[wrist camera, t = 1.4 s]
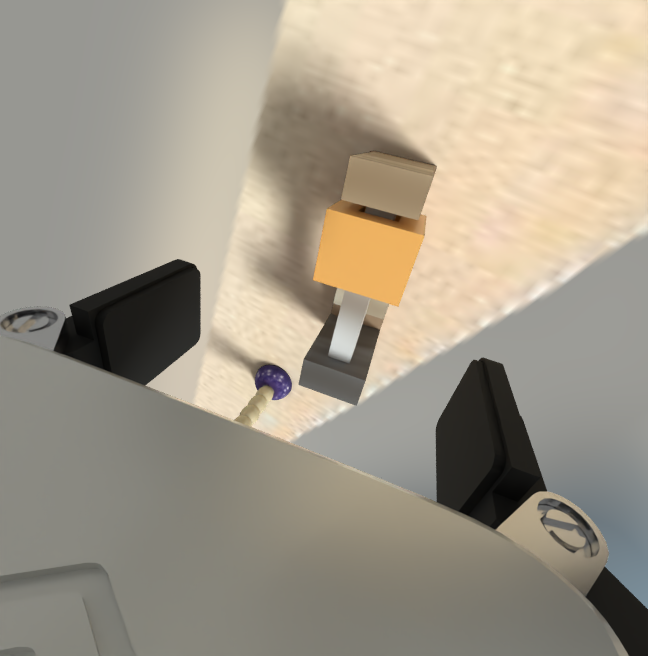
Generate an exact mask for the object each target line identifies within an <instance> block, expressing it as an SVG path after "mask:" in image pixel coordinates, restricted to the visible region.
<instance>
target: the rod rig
mask: <svg viewBox="0 0 648 656" xmlns="http://www.w3.org/2000/svg"><path fill="white" fill-rule="evenodd" d="M436 168H437V166H434V165H430V164H426V163H422V162H418V161H414V160H410V159H406V158H402V157H398V156H393V155H389V154H385V153H381V152H377V151H370V153H364V154H358V155H351V156H350V159H349V163H348V168H347V173H346V177H345V182H344V187H343V192H342V196H341V200H344V201H348V202H352V203H356V204H359V205H363V206H366V210H365V213H368V214H371V215H375V216H379V217H382V218H386V219H390V220H393V221H395V218H396V215H400V216H404V217H407V218H411V219H415V220H419V217H420V214H421V211H422V209H423V206H424V203H425V200H426V197H427V194H428V191H429V189H430V186H431V183H432V180H433V177H434V174H435V171H436ZM388 306H389V304H388V303H385V302H381V301H378V300H375V299H372V298H369V297H365V296H362V295H359V294H356V293H352V292H349V291H346V290H343V289H340V288H337V290H336V294H335V298H334V302H333V307H332V311H331V314H330V316H329V318H328V320H327V321H326V323H325V325H324V326H323V328H322V330H321V331H320V333H319V335H318V336H317V338H316V340H315V341H314V343H313V345H312V346H311V348H310V350H309V351H308V353H307V355H306V356H305V358H304V361H303V366H302V370H301V375H300V380H299V385H301V386H304V387H306V388H309V389H312V390H315V391H317V392H320V393H323V394H326V395H328V396H331V397H334V398H337V399H339V400H342V401H345V402H348V403H350V404H353V405H357V403H358V400H359V397H360V395H361V392H362V389H363V386H364V383H365V381H366V377H367V374H368V370H369V367H370V363H371V360H372V356H373V353H374V349H375V345H376V342H377V338H378V335H379V331H380V328H381V325H382V323H383V320H384V317H385V314H386V311H387V308H388Z"/></svg>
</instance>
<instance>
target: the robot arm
mask: <svg viewBox="0 0 648 656" xmlns="http://www.w3.org/2000/svg"><path fill="white" fill-rule="evenodd" d="M70 309H71V313H72V316H71V317H68V318H66V317H65V314H64V313H63V312H62V311H60V310H58V309H56V308H51V307H41V306H37V307H26V308H21V309H16V310H13V311H10V312H7V313H5V314H3V315H1V316H0V656H648V609H647V608H646V607H645V606H644V605H643V604H642V603H641V602H640V601H639V600H638V599H637V598H636V597H635V596H634V595H633V594H632V593H631V592H630V591H629V590H628V589H627V588H625V586H624V585H623V584H622V583H620V582H619V580H618V579H617V578H616V577H615V576H614V575H613V574H612V573H611V572H610V571H608V569H607V568H606V567H605V565H606V563H607V560H608V555H609V552H608V548H607V543H606V541H605V539H604V538H603V535H602V533H601V532H600V530H599V529H598V528H597V526H596V525H595V524H594V523H593V521H592V520H591V519H590V518H589V517H588V516H587V515H586V514H585V513H584V512H583V511H582V510H581V509H580V508H578V507H577V506H576V505H574V504H573V503H572V502H570V501H569V500H567V499H565V498H563V497H561V496H559V495H557V494H554V493H550V492H547V489H546V487H545V484H544V481H543V478H542V475H541V472H540V469H539V466H538V463H537V460H536V457H535V454H534V451H533V448H532V446H531V442H530V440H529V436H528V433H527V430H526V428H525V424H524V421H523V419H522V417H521V416H520V414H519V411H518V408H517V405H516V402H515V399H514V396H513V393H512V390H511V387H510V384H509V381H508V378H507V375H506V372H505V370H504V366H503V364H501V363H497V362H495V361H492V360H488V359H486V358H481V359H480V360H479V361H477V360H473V361H472V362H471V363H470V365H469V367H468V369H467V371H466V372H465V374H464V376H463V378H462V379H461V381H460V383H459V385H458V386H457V388H456V390H455V392H454V394H453V395H452V397H451V399H450V401H449V403H448V404H447V406H446V408H445V410H444V411H443V413H442V415H441V417H440V418H439V420H438V423H437V427H436V473H437V476H436V478H437V502H435V501H433V500H431V499H428V498H426V497H424V496H422V495H419V494H417V493H414V492H412V491H409V490H407V489H404V488H402V487H399V486H397V485H394V484H392V483H389V482H387V481H385V480H382V479H380V478H378V477H375V476H373V475H370V474H368V473H365V472H363V471H360V470H358V469H355V468H353V467H350V466H348V465H345V464H343V463H340V462H338V461H335V460H332V459H330V458H328V457H325V456H323V455H320V454H318V453H315V452H313V451H310V450H307V449H305V448H303V447H300V446H298V445H295V444H293V443H290V442H288V441H285V440H283V439H280V438H278V437H275V436H273V435H270V434H267V433H265V432H262V431H260V430H257V429H255V428H252V427H250V426H247V425H245V424H242V423H240V422H237V421H235V420H232V419H229V418H227V417H224V416H222V415H219V414H217V413H214V412H212V411H209V410H206V409H204V408H201V407H199V406H196V405H194V404H191V403H189V402H186V401H183V400H181V399H178V398H176V397H173V396H171V395H168V394H165V393H163V392H160V391H158V390H155V389H152V388H150V387H147V386H145V385H146V384H147V383H149V382H150V381H151V380H153V379H154V378H155V377H156V376H157V375H159V374H160V373H161V372H162V371H164V370H165V369H166V368H167V367H168V366H170V365H171V364H172V363H173V362H175V361H176V360H177V359H178V358H179V357H180V356H182V355H183V354H184V353H186V352H187V351H188V350H189V349H190V348H192V347H193V346H194V345H195V344H196V343H197V342H198V340H199V338H200V272H199V270H197V268H196V266H195V265H194V264H192V263H189V262H185V261H182V260H179V259H177V260H174V261H172V262H169V263H167V264H165V265H162V266H160V267H157V268H155V269H153V270H151V271H148V272H146V273H143V274H141V275H139V276H136V277H134V278H131V279H129V280H127V281H124V282H122V283H120V284H117V285H115V286H113V287H110V288H108V289H106V290H103V291H101V292H99V293H96V294H94V295H92V296H89V297H87V298H85V299H82V300H80V301H77V302H75V303H73V304H71V305H70Z"/></svg>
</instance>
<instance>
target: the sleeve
mask: <svg viewBox="0 0 648 656" xmlns="http://www.w3.org/2000/svg"><path fill="white" fill-rule="evenodd" d="M365 210H366V206H363V205H359V204H356V203H352V202H348V201H344V200H340V201H338V202H337V203H335V204H334V205H332V206H330V207H329V208H327V210H326V216H325V221H324V226H323V231H322V236H321V241H320V247H319V252H318V257H317V262H316V267H315V272H314V278H313V280H314V281H317V282H320V283H324V284H327V285H330V286H333V287H336V288H340V289H343V290H346V291H349V292H352V293H356V294H359V295H362V296H365V297H369V298H372V299H375V300H378V301H381V302H385V303H388V304H391V305H394V306H397V307H398V306H399V303H400V301H401V298H402V295H403V292H404V290H405V287H406V284H407V282H408V279H409V276H410V273H411V271H412V268H413V265H414V263H415V260H416V257H417V255H418V252H419V249H420V246H421V244H422V241H423V238H424V235H425V225H426V216H425V215H421V214H420V217H419V220H415V219H411V218H407V217H404V216H400V215H396V218H395V221H393V220H390V219H386V218H382V217H379V216H375V215H371V214H368V213H365Z"/></svg>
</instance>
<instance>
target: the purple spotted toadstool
mask: <svg viewBox="0 0 648 656" xmlns="http://www.w3.org/2000/svg"><path fill="white" fill-rule="evenodd" d="M255 385H256V388H257V390H258V391H257V393H256V396H254V397H253V398H252V399H251V400H250V401H249V403H248V406H246V407H245V408H244V409H243V410H242V411H241V413H240V416H239V417H237V418H236V419H235V421H237V422H240V423H242V424H245V425H247V426H250V427H251V426H252V425H253V424H254V423H255V422H256V421H257V420H258V418H259V414H261V413H262V412H263V411H264V410H265V408H266V405H267V404H268V403H269V402H270V401H271V400H279V399H282V398H284V397H285V396H286V395H288V394H289V392H290V391H291V387H292V383H291V379H290V377H289V376H288V374H287V373H286V372H285V371H284V370H282V369H281V368H279V367H277V366H274V365H265V366H262V367H261V368H260V369H259V370H258V372H257V374H256V377H255Z"/></svg>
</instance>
